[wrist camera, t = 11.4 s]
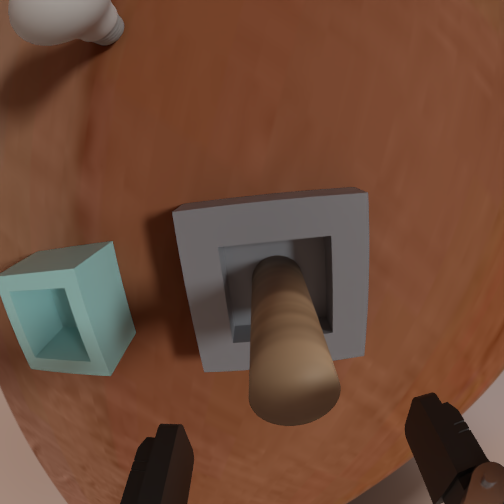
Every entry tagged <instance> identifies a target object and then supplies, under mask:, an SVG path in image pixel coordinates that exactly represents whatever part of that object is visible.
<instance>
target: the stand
mask: <svg viewBox="0 0 504 504" xmlns="http://www.w3.org/2000/svg"><path fill="white" fill-rule="evenodd" d="M172 215H173V221H174V227H175V233H176V239H177V245H178V250H179V256H180V261H181V267H182V272H183V277H184V282H185V287H186V292H187V297H188V302H189V307H190V312H191V316H192V321H193V325H194V330H195V334H196V339H197V343H198V348H199V352H200V356H201V360H202V364H203V369H204V372H221V371H238V370H249V368H250V332H251V296H252V275H253V271H254V269H255V267H256V266H257V265H258V264H259V263H260V262H261V261H262V260H263V259H265V258H267V257H270V256H275V255H281V256H286V257H288V258H290V259H292V260H294V261H295V262H296V263H297V264H298V266H299V267H300V269H301V272H302V275H303V277H304V280H305V283H306V286H307V288H308V291H309V294H310V297H311V300H312V302H313V305H314V308H315V311H316V314H317V317H318V320H319V322H320V325H321V328H322V331H323V334H324V337H325V340H326V343H327V346H328V349H329V352H330V355H331V358H332V361H334V360H340V359H347V358H353V357H359V356H364V351H365V339H366V326H367V309H368V285H369V205H368V193H367V192H365V191H363V190H360V189H357V188H355V187H348V188H333V189H320V190H308V191H296V192H285V193H274V194H264V195H255V196H245V197H236V198H227V199H219V200H211V201H203V202H195V203H187V204H182V205H181V206H179V207H178V208H177V209H175V210H174V211H173V212H172Z"/></svg>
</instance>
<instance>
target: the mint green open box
mask: <svg viewBox="0 0 504 504" xmlns="http://www.w3.org/2000/svg"><path fill="white" fill-rule="evenodd" d="M0 295H1V298H2V301H3V304H4V306H5V309H6V312H7V314H8V317H9V320H10V322H11V325H12V327H13V330H14V332H15V335H16V337H17V339H18V342H19V344H20V346H21V348H22V351H23V353H24V355H25V357H26V359H27V361H28V363H29V366H30V368H31V369H36V370H44V371H53V372H63V373H74V374H86V375H101V376H111V375H112V373H113V371H114V370H115V368H116V366H117V364H118V363H119V361H120V359H121V357H122V356H123V354H124V352H125V351H126V349H127V347H128V346H129V344H130V342H131V340H132V339H133V337H134V335H135V334H136V330H135V327H134V324H133V320H132V317H131V313H130V310H129V306H128V303H127V299H126V295H125V292H124V288H123V284H122V280H121V276H120V272H119V268H118V264H117V259H116V255H115V250H114V246H113V241H109V242H101V243H94V244H87V245H80V246H72V247H65V248H58V249H52V250H45V251H38V252H36V253H34V254H32V255H30V256H29V257H27V258H25V259H23V260H22V261H20V262H18V263H17V264H15V265H13V266H12V267H10V268H8V269H7V270H5V271H3V272H2V273H0Z"/></svg>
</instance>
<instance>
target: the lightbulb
mask: <svg viewBox="0 0 504 504" xmlns="http://www.w3.org/2000/svg"><path fill="white" fill-rule="evenodd" d="M8 13H9V19H10V23H11V25H12V27H13V29H14V31H15V32H16V33H17V34H18V35H19V36H20V37H21V38H22V39H24V40H25V41H27V42H30V43H32V44H35V45H42V46H52V45H58V44H62V43H65V42H68V41H71V40H74V39H81V40H83V41H87V42H94V43H97V44H100V45H103V46H104V45H110V44H112V43H114V42H115V41H117V40H118V39H119V38H120V36H121V35H122V33H123V31H124V22H123V20H122V19H121V17H120V16H119V15H118V14H117V10H116V8H115V7H114V6H113V4H112V3H111V0H9V9H8Z"/></svg>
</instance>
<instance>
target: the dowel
mask: <svg viewBox="0 0 504 504" xmlns="http://www.w3.org/2000/svg"><path fill="white" fill-rule="evenodd" d="M340 391H341V390H340V382H339V379H338V376H337V373H336V370H335V367H334V364H333V361H332V358H331V355H330V352H329V349H328V346H327V343H326V340H325V337H324V334H323V331H322V328H321V325H320V322H319V320H318V317H317V314H316V311H315V308H314V305H313V302H312V300H311V297H310V294H309V291H308V288H307V286H306V283H305V280H304V277H303V275H302V272H301V269H300V267H299V266H298V264H297V263H296V262H295V261H294V260H292V259H290V258H288V257H286V256H281V255H275V256H270V257H267V258H265V259H263V260H262V261H261V262H260V263H259V264H258V265H257V266H256V267H255V269H254V271H253V275H252V296H251V332H250V368H249V403H250V406H251V408H252V409H253V411H254V412H255V413H256V414H257V415H258V416H259V417H260V418H262V419H263V420H265V421H267V422H270V423H273V424H277V425H283V426H296V425H302V424H306V423H310V422H312V421H315V420H317V419H319V418H321V417H322V416H324V415H325V414H327V413H328V412H329V411H330V410H331V409H332V408H333V407H334V406H335V404H336V403H337V401H338V399H339V396H340Z"/></svg>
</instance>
